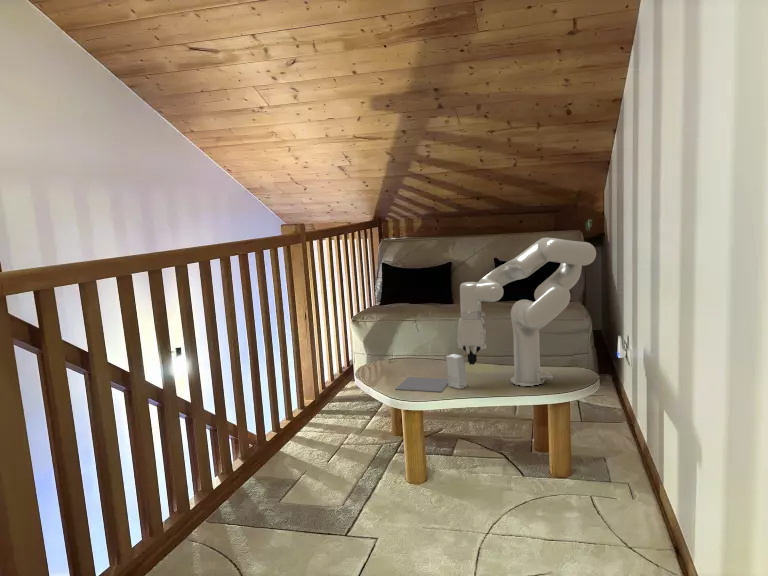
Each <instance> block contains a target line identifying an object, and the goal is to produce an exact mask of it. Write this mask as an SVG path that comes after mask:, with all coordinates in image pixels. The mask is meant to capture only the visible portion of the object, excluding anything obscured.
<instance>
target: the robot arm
mask: <svg viewBox="0 0 768 576" xmlns="http://www.w3.org/2000/svg"><path fill="white" fill-rule="evenodd" d="M596 257H597V251H596V248H595V246H594V245H593V244H591V243H590V242H587V241H579V240H577V241H575V240H569V239H562V238H557V237H542V238H539V240H537V241H535V242H534V243H533V244H531V245H530V246H528V247H527V248H526V249H525V250H524V251H522V252H521V253H519V254H518V255H517V256H516V257H514V258H513V259H510V260H509V261H506V262H505V263H504V264H501V265H499V266H498V267H496V268H494V269H493V270H491V271H489V273H487V274H486V275H484V276H482V278H480V279H479V281H466V282H465V281H464V282H462V283H461V284H460V285H459V298H460V300H459V301H460V318H459V320H458V325H457V348H458V349H460V350H463V351H465V353H466V354H467V363H468V364H469V366H470V365H472V366H473V365H475V364H476V362H477V359H478V357H477V356H478V355H477V353H478V352H479V351H481V350H485V349H487V334H486V331H487V330H486V323H485V320H484V318H483V317H486V312H483V311H482V302H489V303H490V302H491V303H492V302H498V301H499V300H501V299H502V297H503V296H504V292H505V291H504V288H503V287H504V286H506V285H507V284H509V283H512V282H515V281H517V280H522V279H523V280H524V279H526V278H528V277H530V276H531V275H532V274H534V273H535V272H536V271H537V270H539V269H540V268H541V267H543V266H544V265H546V264H547V263H548V262H552V263H559V264H560V265H559V267H558V268H557V269H556V270H555V271H554V272H553V273H552V274H551V275H550V276H549V277H547V278H545V280H544V281H543V282H541V284H539V285H538V286H537V287H536V289H535V290H534V294H533V296H534V300H535V301H532V300H529V299H520V300H518V301H516V302H515V303H514V304H513V305H512V307H511V309H510V319H511V320H510V321H511V324H512V325H511V326H512V334H513V362H514V363H513V364H514V369H513V370H514V372H513V373H514V376H512V377H511V378H510V383H511V384H512V383H513V384H512V385H514V384H515V386H518V385H520V386H519V387H525V386H531V387H534V386H533V385H539V384H542V383H543V382H544V381H545V380H553V373H552V374H551V373H550V372H544V371H543V370H542V368H541V357H540V356H541V355H540V354H541V353H540V352H541V351H540V349H541V348H540V330H541V329H542V328H544V327H545V326H546V325H548V324H549V323H550V322H552V321H553V320H554V319H555V318H556V317H558V315H560V314H561V313H562V312H563V311H564V310H565V309H566V308H567V307H568V305H569V304H570V301H571V293H570V290H571V289H572V288H573V287H574V286H575V285H576V284H577V283H578V281H579V279H580V277H581V274H582V269H583V268H582V266H588V265H590V264H592V263H593V262H594V261H595V259H596ZM471 347H472V348H473V350H472V348H471ZM544 383H545V382H544ZM544 383H543V384H544ZM543 384H542V385H543ZM539 386H540V385H539Z"/></svg>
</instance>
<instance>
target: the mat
mask: <svg viewBox="0 0 768 576" xmlns="http://www.w3.org/2000/svg"><path fill="white" fill-rule="evenodd" d="M447 386H449V385H448V378H443V377H442V378H439V377H419V376H408V377H407V378H406V379H404V381H402V382H401V383H400V384H399V385H398V386H397V387H396V388H395V390H396V389H398V390H397V391H407V390H409V391H411V392H427V393H443V391H444V390H445V389H446V388H447Z"/></svg>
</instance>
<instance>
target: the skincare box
mask: <svg viewBox="0 0 768 576" xmlns="http://www.w3.org/2000/svg"><path fill="white" fill-rule="evenodd" d="M465 357H466V356H464V355H461V354H456V353H451V354H449V355H445V358H446V359H445V361H446V368H447V379H448V385H447V386H448V387H451V388H456V389H459V390H462V389H465V388H467V386H468V385H467V373H466V372H467V371H466V369H467V368H466V358H465ZM464 387H465V388H464Z"/></svg>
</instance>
